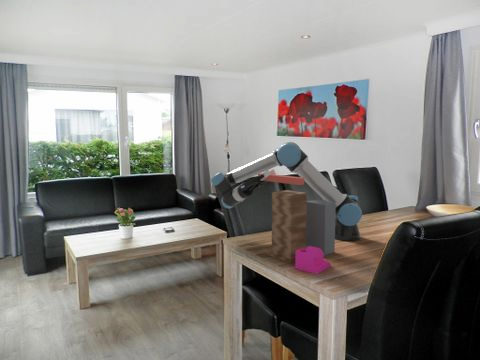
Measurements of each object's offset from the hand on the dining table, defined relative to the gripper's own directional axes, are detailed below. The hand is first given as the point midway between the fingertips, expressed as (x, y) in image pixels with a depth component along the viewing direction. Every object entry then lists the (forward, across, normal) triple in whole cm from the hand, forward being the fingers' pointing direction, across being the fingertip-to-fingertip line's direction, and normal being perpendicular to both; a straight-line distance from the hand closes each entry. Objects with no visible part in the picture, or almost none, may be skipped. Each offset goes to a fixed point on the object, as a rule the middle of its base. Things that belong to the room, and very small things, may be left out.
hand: (271, 172), depth 185 cm
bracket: (+5, +3, -48) cm, 48 cm away
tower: (-10, 0, -39) cm, 40 cm away
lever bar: (+3, 0, -6) cm, 7 cm away
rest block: (-5, -17, -41) cm, 45 cm away
